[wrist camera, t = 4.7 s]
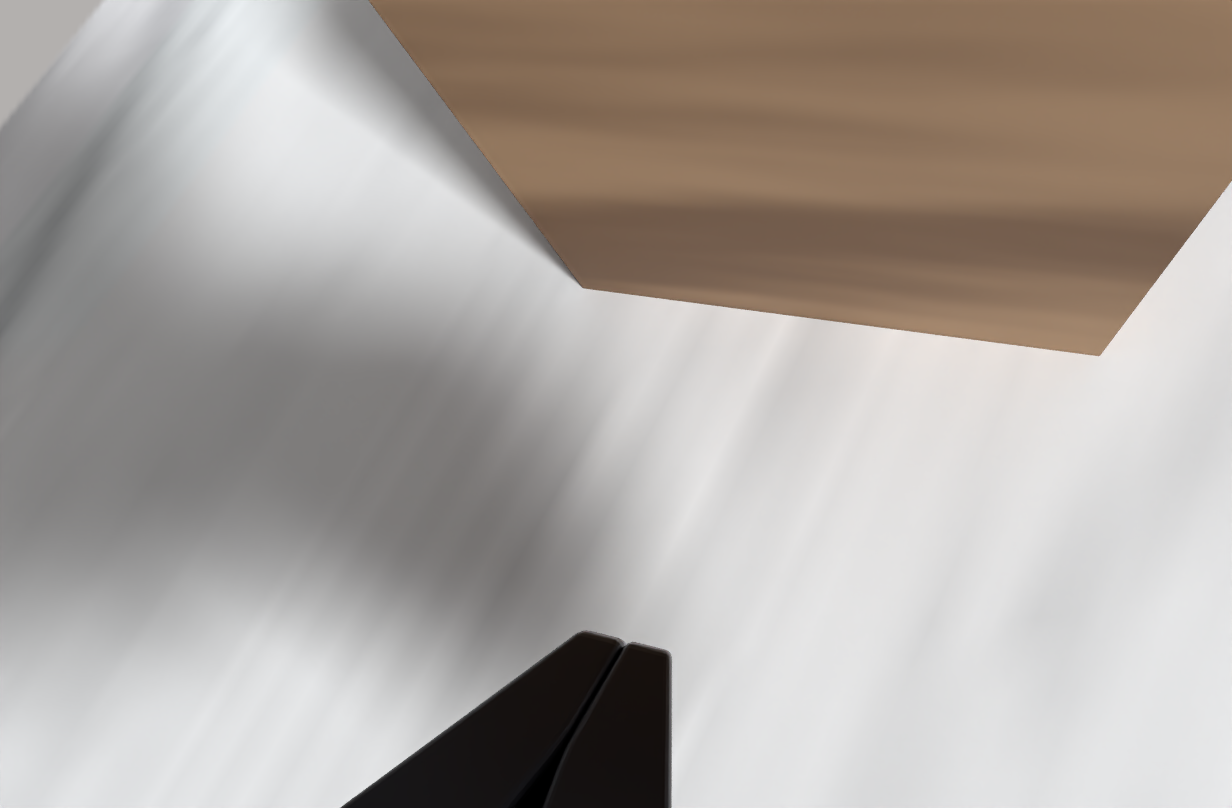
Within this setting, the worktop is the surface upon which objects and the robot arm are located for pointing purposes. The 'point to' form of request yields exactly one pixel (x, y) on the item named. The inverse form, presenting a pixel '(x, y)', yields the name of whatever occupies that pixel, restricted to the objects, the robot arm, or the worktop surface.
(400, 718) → the worktop surface
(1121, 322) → the light brown wooden block
